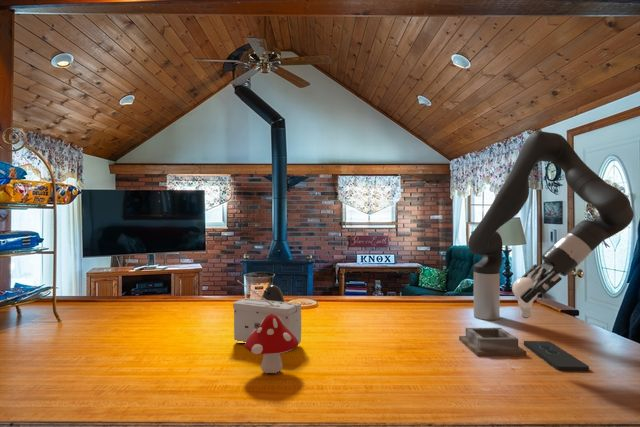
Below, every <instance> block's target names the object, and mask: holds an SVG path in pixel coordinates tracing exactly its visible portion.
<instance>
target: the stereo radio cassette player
mask: <svg viewBox="0 0 640 427" xmlns="http://www.w3.org/2000/svg"><path fill="white" fill-rule="evenodd" d="M237 282H238V283H240V284H241V285H243V286H244V287H245V288H247V289H248V290H249V291H250V292H252V293H253V294H255V295H256V296H257V297H259V299H257V298H249V297H248V298H247V297H245V298H243V299H239V300H236V301H234V302H233V304H232V308H233V336H234V337H233V338H234V341H235V340H237V341H243V342H246V341H247V339H248V338H249V336H250V335H251V333H252V332H253V331H254V330H255V329H257V328H258V327H259V326H260V324H261V322H262V321H263V319H264V318H265V317H266V316H268V315H270V314H273V315H276V316H278V317H280V318H281V320H282V322H283V325H284V326H285V327H286V328H287V329H288V330H289V331H290V332H291V333H292V334H293V335H294V336H295V337H296V338H297V340H298V345H300V344H301V343H302V307H301V304H300V303H297V302H296V303H295V302H294V303H293V302H278V301H268V300H266V299H265V298H263V297H262V296H261V295H260V294H259V293H257V292H256V291H255V290H254V289H252V288H250V287H248V286H247V285H245V284H243V283H242V282H241V281H240V280H239V279H237ZM261 298H262V299H263V300H261Z"/></svg>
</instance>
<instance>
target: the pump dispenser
mask: <svg viewBox="0 0 640 427" xmlns="http://www.w3.org/2000/svg"><path fill="white" fill-rule="evenodd" d="M263 291H264V292H263V293H262V297H263V298H265V299H266V300H268V301H278V302H285V298H284V295H283V292H282V290H281V289H280V288H279V286H277V285H273V284H270V285H269V286H267V287H266V288H265V289H264V290H263ZM260 300H263V299H262V298H260Z"/></svg>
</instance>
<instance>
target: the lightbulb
mask: <svg viewBox="0 0 640 427" xmlns="http://www.w3.org/2000/svg"><path fill="white" fill-rule="evenodd" d="M533 283H534V280H532V279H530V278H527V277H522V276H521V277H519V278H517V279H515V280H514V281H513V284H512V286H511V292H512V291H513V293H514V294H513V293H512V294H513V295H514V297H515V298H516V300H517V303H518V306H519V316H521V317H522V318H523V319H529V318H531V317H532V312H531V311H532V306H533V304H534V301H535V300H536V299H537V297H538V295H539V294H538V293H537V295H536V296H535V297H534V298H532V299H531V300H530V301H529V302H528V303H525V302H524V301H523V300H522V299H521V298H520V296H521V295H522V294H523V293H524V292H526V291H527V290H528V289H529V288H531V286H532V285H533Z"/></svg>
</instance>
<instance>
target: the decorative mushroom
mask: <svg viewBox="0 0 640 427" xmlns="http://www.w3.org/2000/svg"><path fill="white" fill-rule="evenodd" d="M243 345H244V348H245V349H246V350H247V351H248V352H250V353H252V354H254V355H263V357H262V361H261V364H260V368H261V371H262V372H263V373H264V372H265V374H267V373H275V374H278V373H279V371H280V372H281V371H282V369H283V365H284V364H283V361H282V356H281V354H284V353H286V352H290V351H292V350H294V349H295V348H297V347H298V345H299V344H298V340H297V338H296V337H295V336H294V335H293V334H292V333H291V332H290V331H289V330H288V329H287V328H286V327H285V326H284V325H283V322H282V320H281V318H280V317H278V316H276V315H273V314H270V315H268V316H266V317H265V318H264V319H263V321H262V322H261V324H260V326H259V327H258V328H257V329H255V330H254V331H253V332H252V333H251V335H250V336H249V338H248V339H247V341H246V343H245V344H243ZM277 372H278V373H277Z"/></svg>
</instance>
